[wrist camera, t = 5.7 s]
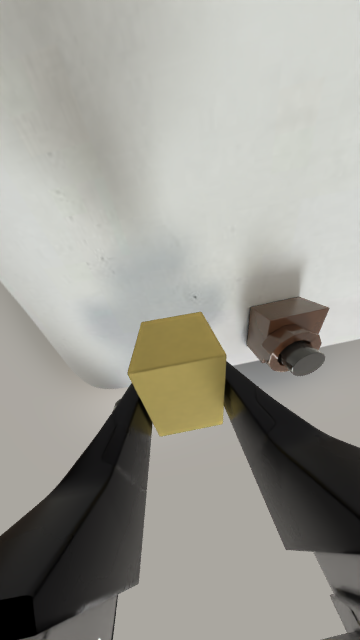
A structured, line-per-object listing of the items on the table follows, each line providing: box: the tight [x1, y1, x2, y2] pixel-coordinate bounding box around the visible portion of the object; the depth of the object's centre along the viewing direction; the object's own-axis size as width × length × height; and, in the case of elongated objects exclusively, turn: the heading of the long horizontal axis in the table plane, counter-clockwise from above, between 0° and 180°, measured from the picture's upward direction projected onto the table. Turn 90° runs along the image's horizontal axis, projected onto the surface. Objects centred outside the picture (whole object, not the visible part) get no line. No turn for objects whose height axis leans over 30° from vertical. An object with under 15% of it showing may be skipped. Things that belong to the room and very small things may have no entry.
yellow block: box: [128, 312, 226, 436], centre depth 8 cm, size 6×4×4 cm, turn 8°
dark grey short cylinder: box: [278, 340, 325, 376], centre depth 17 cm, size 4×4×2 cm
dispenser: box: [247, 297, 329, 372], centre depth 20 cm, size 9×8×6 cm
